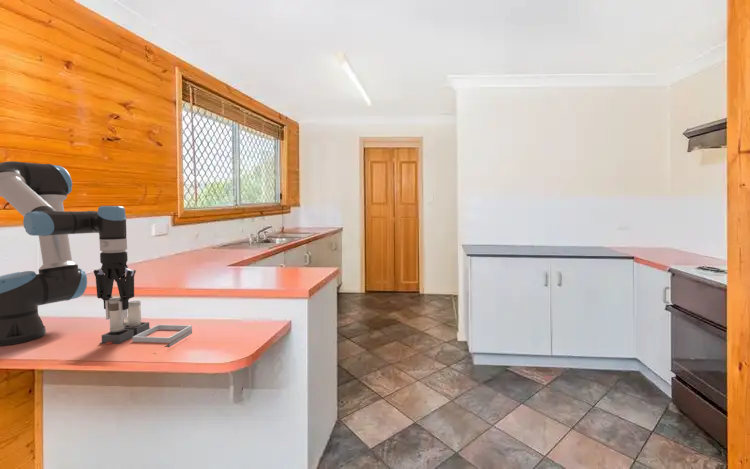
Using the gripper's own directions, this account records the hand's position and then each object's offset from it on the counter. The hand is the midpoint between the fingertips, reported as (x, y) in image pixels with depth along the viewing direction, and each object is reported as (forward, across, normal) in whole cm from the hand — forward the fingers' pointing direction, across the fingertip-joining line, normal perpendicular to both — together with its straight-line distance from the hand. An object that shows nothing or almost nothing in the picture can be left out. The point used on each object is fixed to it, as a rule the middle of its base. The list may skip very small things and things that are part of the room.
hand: (116, 318), depth 124 cm
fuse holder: (+9, 0, +4) cm, 10 cm away
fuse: (+7, 0, +8) cm, 11 cm away
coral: (+9, -11, +19) cm, 24 cm away
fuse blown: (+4, 0, 0) cm, 4 cm away
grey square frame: (+9, +13, +5) cm, 17 cm away
